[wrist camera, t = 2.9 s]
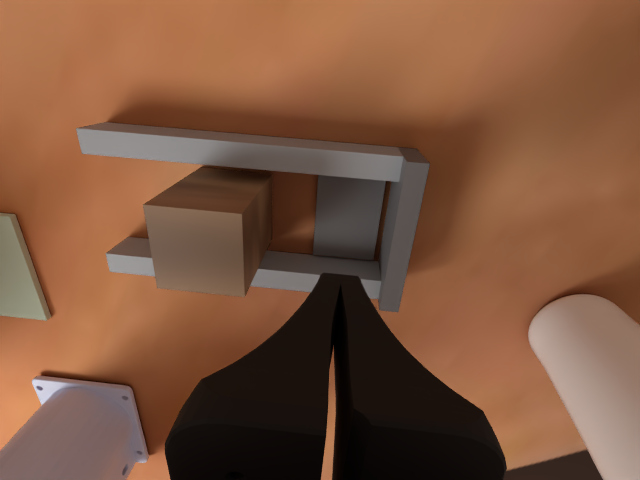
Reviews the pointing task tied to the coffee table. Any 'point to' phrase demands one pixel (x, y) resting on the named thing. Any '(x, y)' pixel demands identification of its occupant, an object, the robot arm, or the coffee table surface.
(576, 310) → the drinking glass
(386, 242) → the channel
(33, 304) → the pad
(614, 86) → the coffee table surface
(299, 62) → the coffee table surface
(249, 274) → the block
